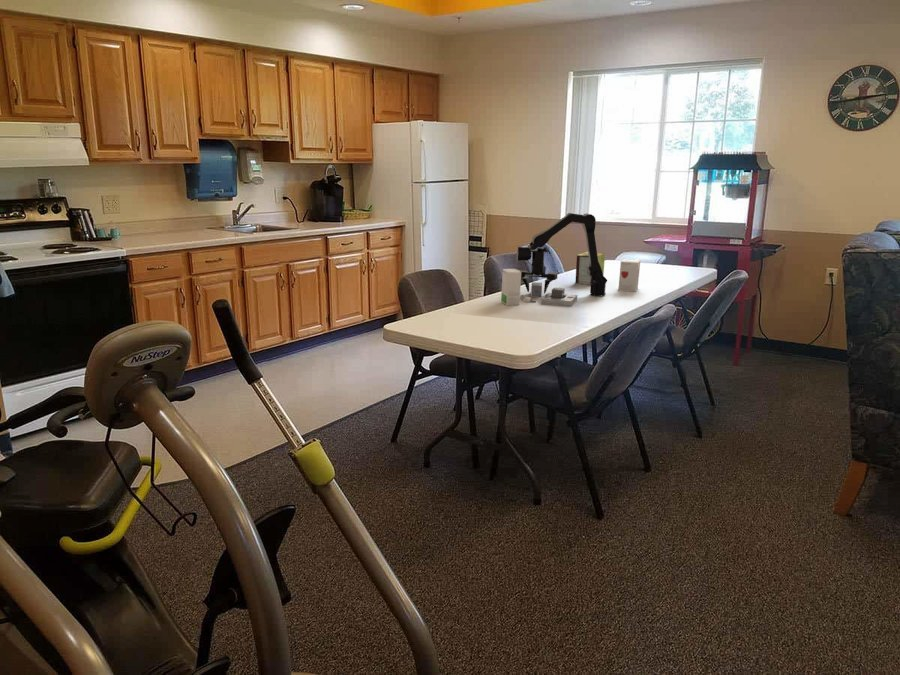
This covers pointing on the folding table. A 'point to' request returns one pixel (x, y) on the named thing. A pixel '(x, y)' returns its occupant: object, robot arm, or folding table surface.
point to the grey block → (558, 292)
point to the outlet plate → (559, 300)
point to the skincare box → (511, 287)
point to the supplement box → (629, 275)
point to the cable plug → (528, 299)
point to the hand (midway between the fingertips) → (536, 292)
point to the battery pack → (536, 289)
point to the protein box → (582, 270)
